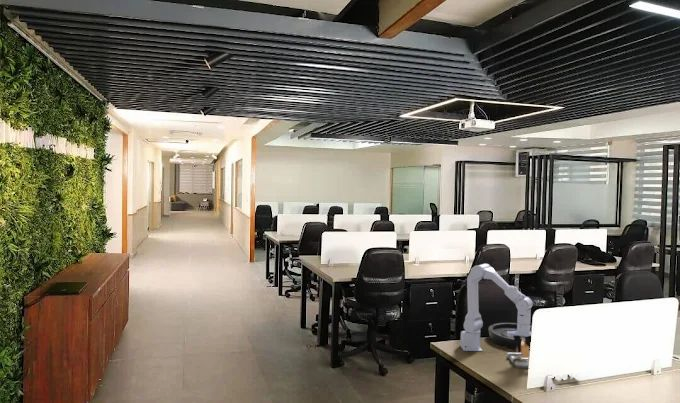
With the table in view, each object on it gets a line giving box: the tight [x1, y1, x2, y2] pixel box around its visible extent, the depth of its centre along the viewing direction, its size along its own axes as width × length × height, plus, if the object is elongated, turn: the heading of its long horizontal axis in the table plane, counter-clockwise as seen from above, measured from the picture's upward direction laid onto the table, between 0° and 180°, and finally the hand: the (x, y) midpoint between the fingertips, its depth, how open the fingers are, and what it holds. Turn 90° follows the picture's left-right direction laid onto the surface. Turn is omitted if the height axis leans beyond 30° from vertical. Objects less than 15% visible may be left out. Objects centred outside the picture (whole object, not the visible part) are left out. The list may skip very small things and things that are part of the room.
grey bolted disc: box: [488, 322, 532, 350], centre depth 248 cm, size 30×6×30 cm
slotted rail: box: [506, 351, 529, 369], centre depth 218 cm, size 10×13×2 cm
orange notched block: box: [516, 341, 530, 358], centre depth 218 cm, size 3×8×5 cm, turn 179°
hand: (522, 351), depth 218 cm, fingers closed on orange notched block, 3 cm apart
